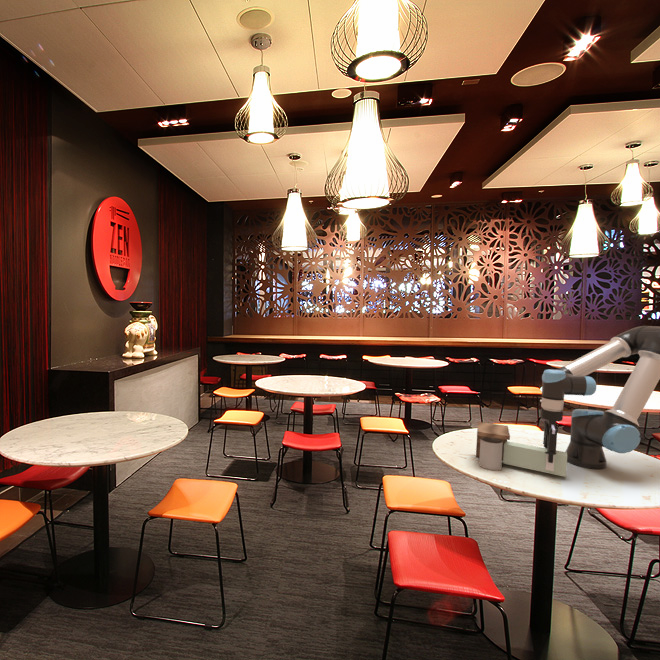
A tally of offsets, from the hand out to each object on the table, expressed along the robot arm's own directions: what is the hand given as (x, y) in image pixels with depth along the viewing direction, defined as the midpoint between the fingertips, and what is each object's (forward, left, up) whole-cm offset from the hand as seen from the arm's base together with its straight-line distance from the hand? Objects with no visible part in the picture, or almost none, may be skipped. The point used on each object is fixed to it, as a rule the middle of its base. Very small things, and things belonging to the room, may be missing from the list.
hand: (548, 467), depth 150 cm
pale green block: (+5, -1, -1) cm, 5 cm away
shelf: (+21, -1, -3) cm, 21 cm away
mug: (+21, 0, -3) cm, 21 cm away
